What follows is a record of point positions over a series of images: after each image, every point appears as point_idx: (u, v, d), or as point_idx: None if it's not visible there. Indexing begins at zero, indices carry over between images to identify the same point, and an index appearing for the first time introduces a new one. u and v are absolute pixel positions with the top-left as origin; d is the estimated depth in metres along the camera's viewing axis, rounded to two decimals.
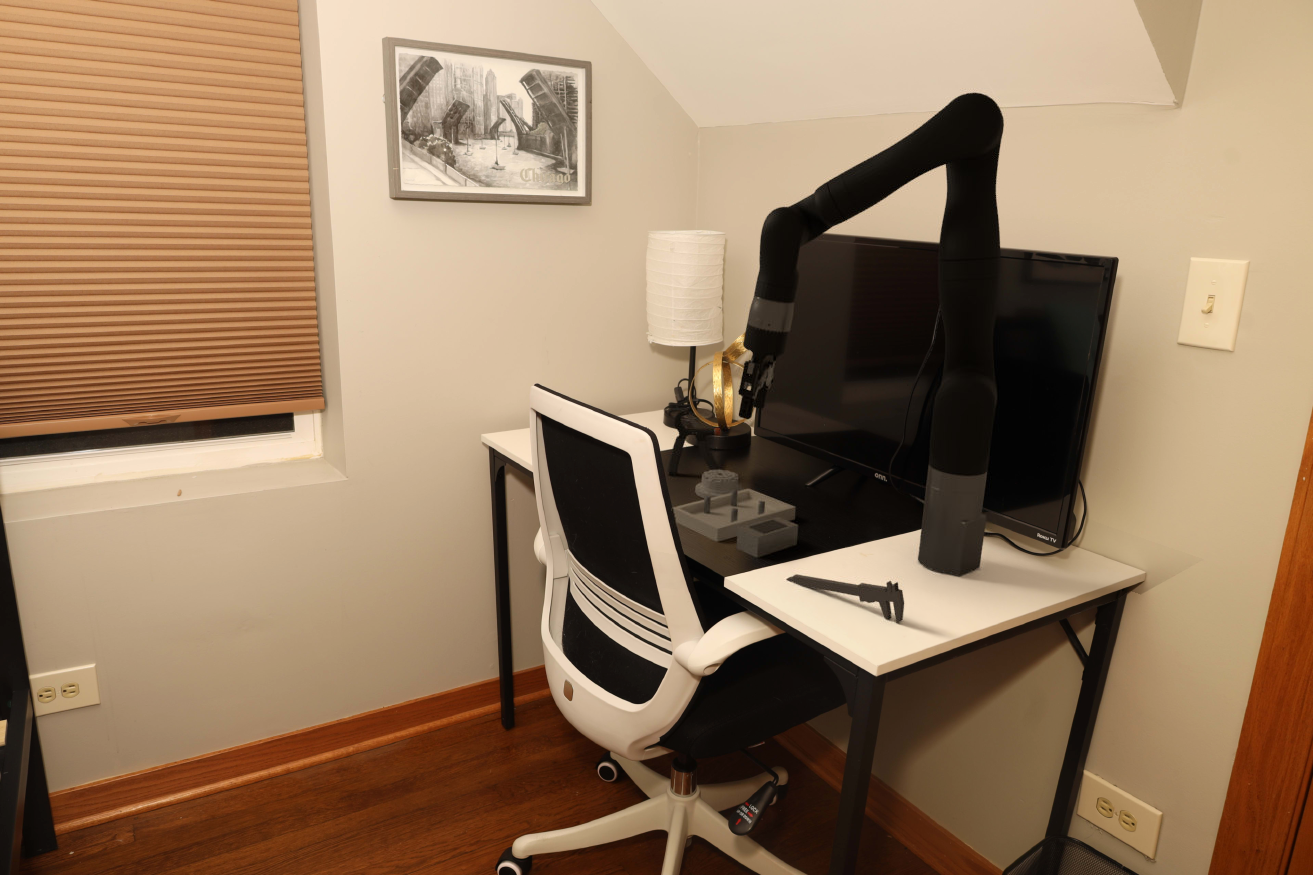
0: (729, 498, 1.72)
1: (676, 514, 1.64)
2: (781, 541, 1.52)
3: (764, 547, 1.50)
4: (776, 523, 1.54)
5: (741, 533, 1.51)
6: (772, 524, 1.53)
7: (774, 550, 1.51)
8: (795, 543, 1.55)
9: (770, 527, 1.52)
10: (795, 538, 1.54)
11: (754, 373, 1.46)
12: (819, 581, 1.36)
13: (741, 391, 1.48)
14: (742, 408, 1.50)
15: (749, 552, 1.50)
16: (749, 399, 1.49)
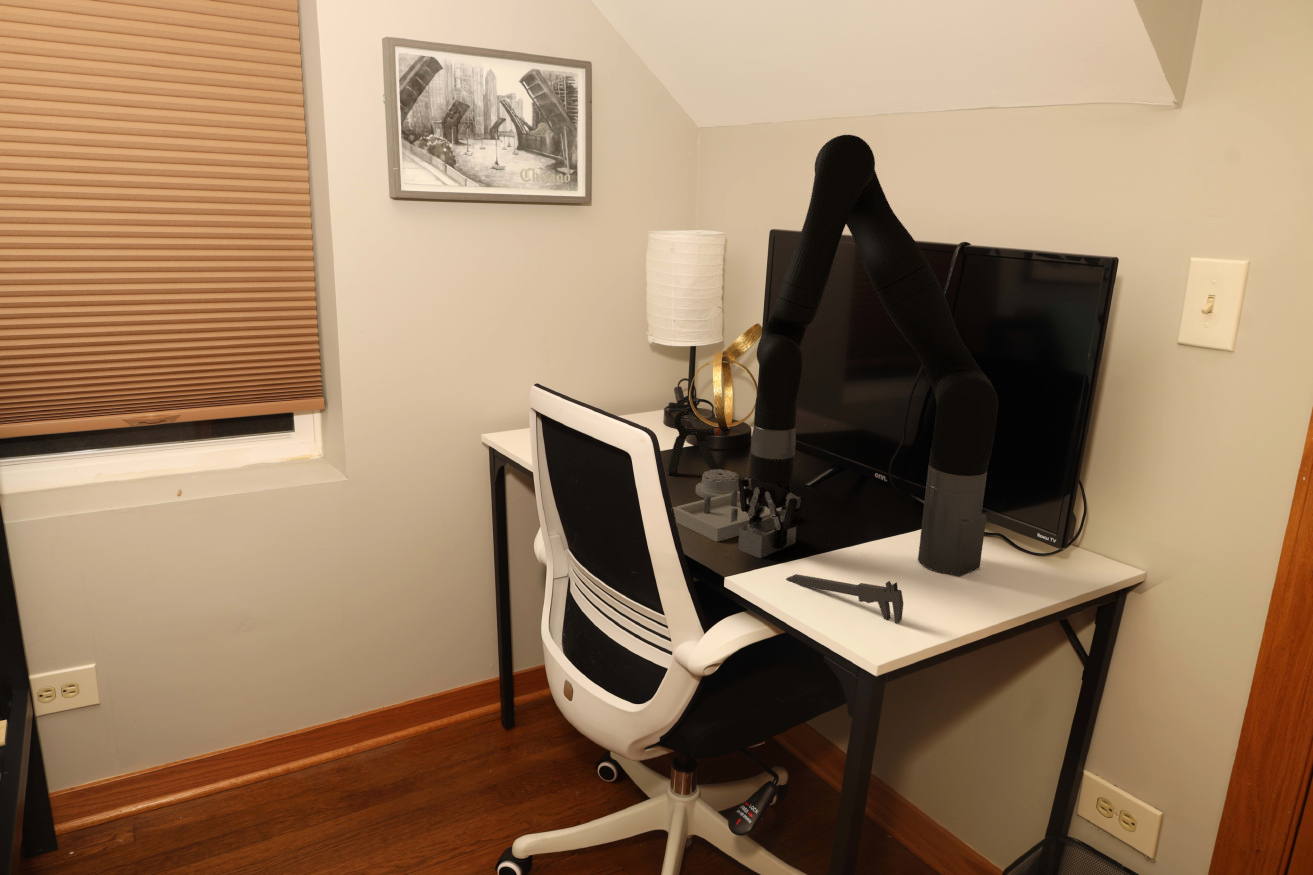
0: (729, 498, 1.72)
1: (676, 514, 1.64)
2: None
3: (767, 546, 1.50)
4: None
5: (743, 533, 1.51)
6: (771, 523, 1.53)
7: None
8: (794, 540, 1.55)
9: (770, 526, 1.52)
10: (794, 535, 1.55)
11: (801, 506, 1.47)
12: (818, 581, 1.36)
13: (790, 526, 1.47)
14: (782, 540, 1.50)
15: (752, 552, 1.50)
16: (786, 529, 1.50)
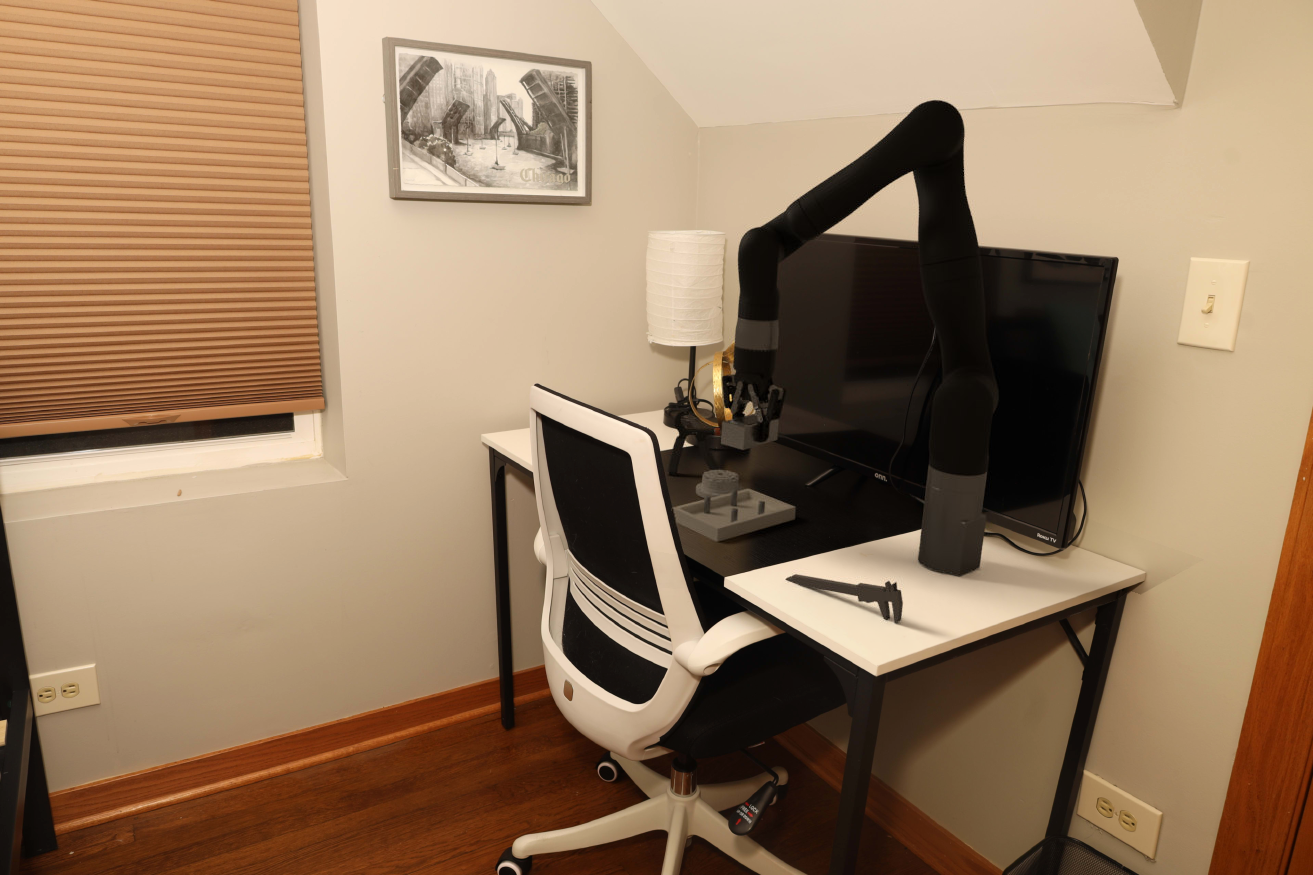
0: (729, 498, 1.72)
1: (676, 514, 1.64)
2: None
3: (750, 438, 1.52)
4: None
5: (726, 426, 1.53)
6: (754, 418, 1.56)
7: (758, 442, 1.54)
8: (776, 437, 1.58)
9: (753, 420, 1.54)
10: (776, 432, 1.57)
11: (783, 398, 1.49)
12: (818, 581, 1.36)
13: (772, 417, 1.50)
14: (764, 433, 1.52)
15: (735, 444, 1.52)
16: (768, 422, 1.52)
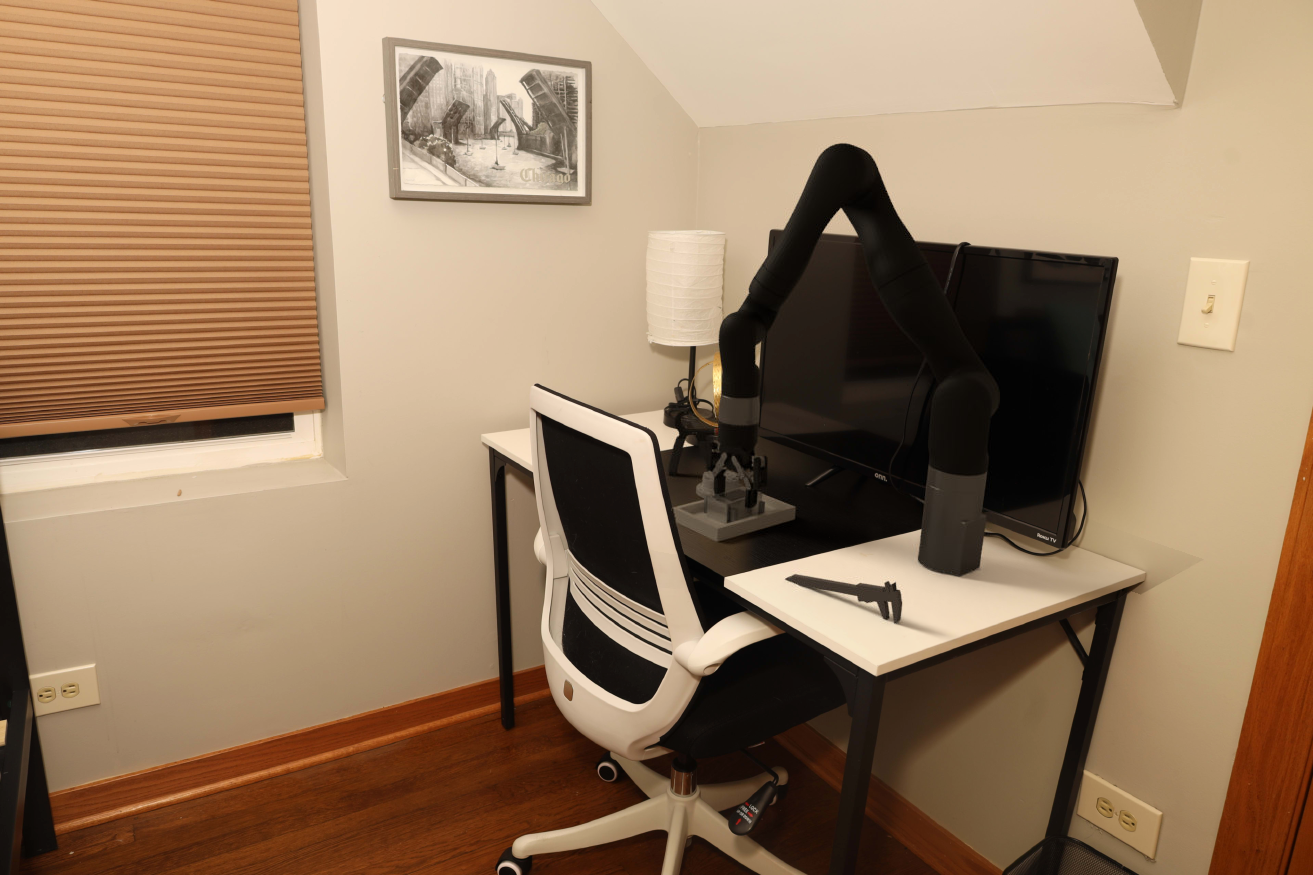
0: None
1: (676, 514, 1.64)
2: (747, 508, 1.64)
3: None
4: (742, 492, 1.66)
5: (711, 501, 1.63)
6: (738, 493, 1.65)
7: (741, 516, 1.63)
8: None
9: (737, 495, 1.64)
10: None
11: (766, 465, 1.58)
12: (817, 581, 1.36)
13: (759, 485, 1.58)
14: (752, 499, 1.60)
15: (719, 519, 1.62)
16: (757, 489, 1.60)
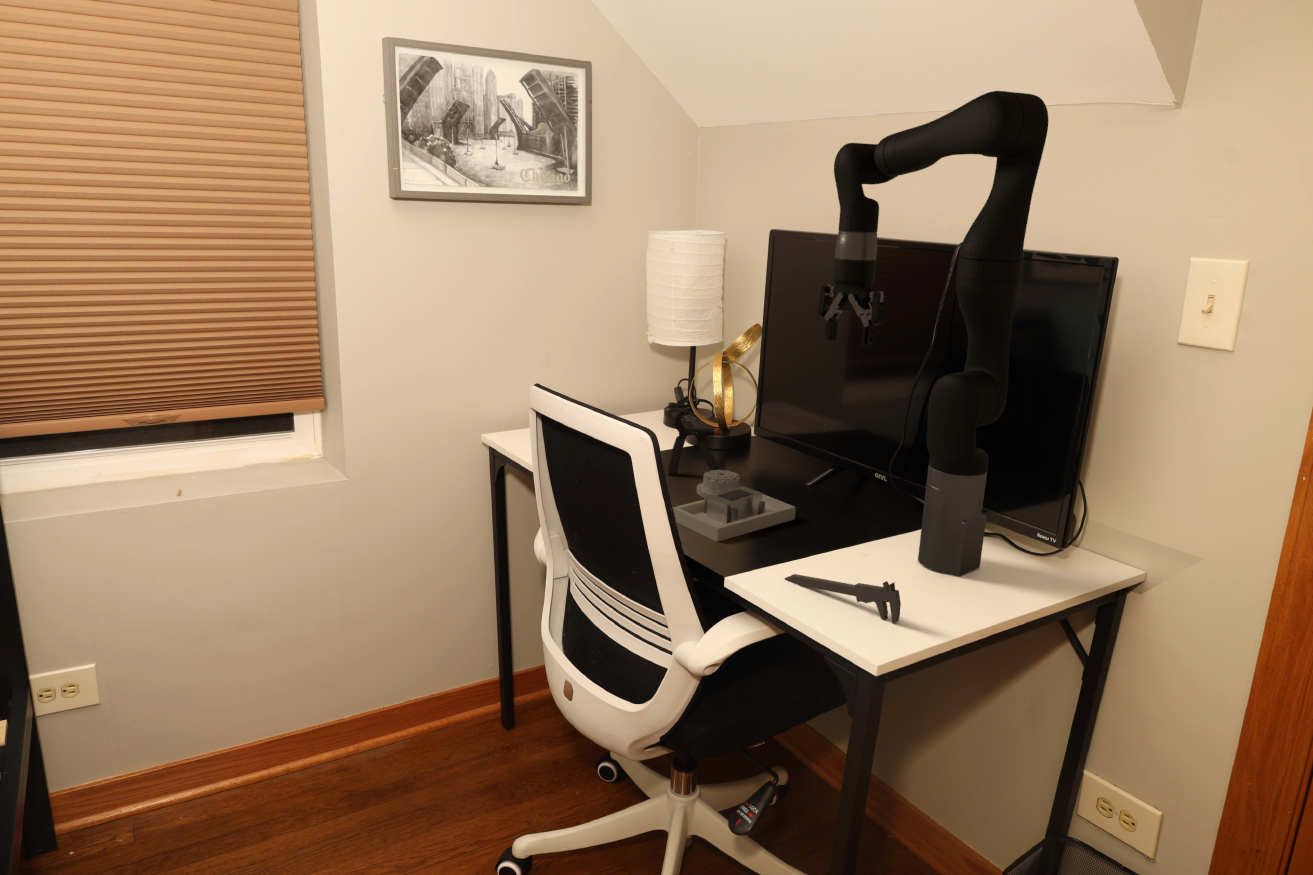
0: None
1: (676, 514, 1.64)
2: (747, 508, 1.64)
3: None
4: (742, 492, 1.66)
5: (711, 501, 1.63)
6: (738, 493, 1.65)
7: (741, 516, 1.63)
8: None
9: (737, 495, 1.64)
10: None
11: (884, 300, 1.59)
12: (816, 581, 1.36)
13: (878, 320, 1.58)
14: (869, 337, 1.61)
15: (719, 519, 1.62)
16: (874, 326, 1.61)
